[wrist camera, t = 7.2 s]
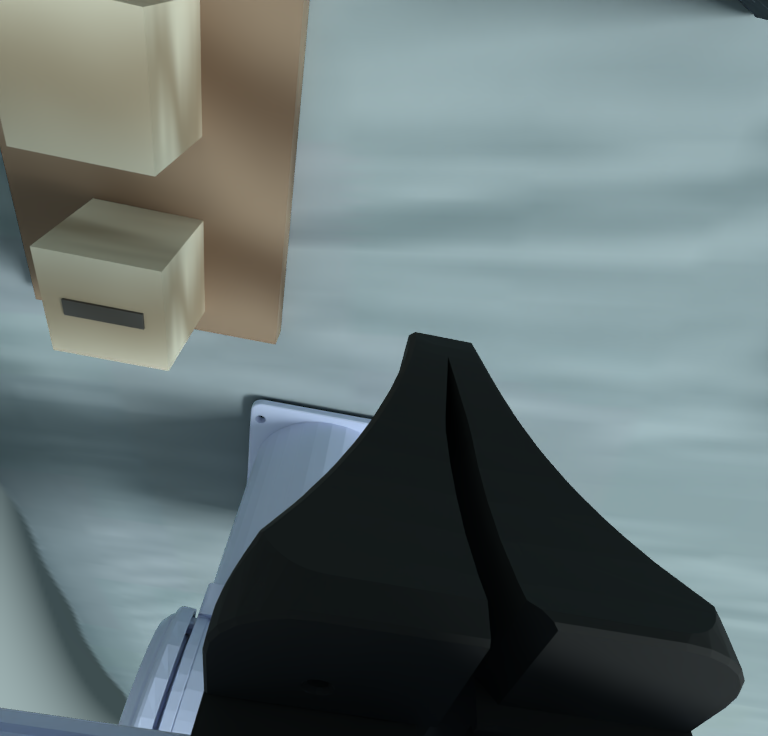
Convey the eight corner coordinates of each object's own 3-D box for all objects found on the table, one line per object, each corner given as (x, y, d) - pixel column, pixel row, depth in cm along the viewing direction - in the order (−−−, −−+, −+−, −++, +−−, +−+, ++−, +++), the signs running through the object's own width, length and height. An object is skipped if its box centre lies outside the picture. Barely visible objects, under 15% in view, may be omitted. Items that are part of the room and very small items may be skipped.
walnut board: (280, 331, 24) (275, 344, 23) (49, 287, 24) (36, 299, 23) (345, -411, 12) (339, -436, 11) (-131, -546, 11) (-173, -582, 11)
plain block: (202, 136, 18) (155, 176, 15) (80, 110, 18) (6, 146, 15) (200, -6, 16) (143, 6, 13) (59, -38, 16) (-35, -34, 12)
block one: (204, 311, 23) (167, 372, 19) (106, 292, 22) (51, 351, 19) (203, 220, 20) (160, 273, 17) (92, 198, 20) (27, 247, 17)
